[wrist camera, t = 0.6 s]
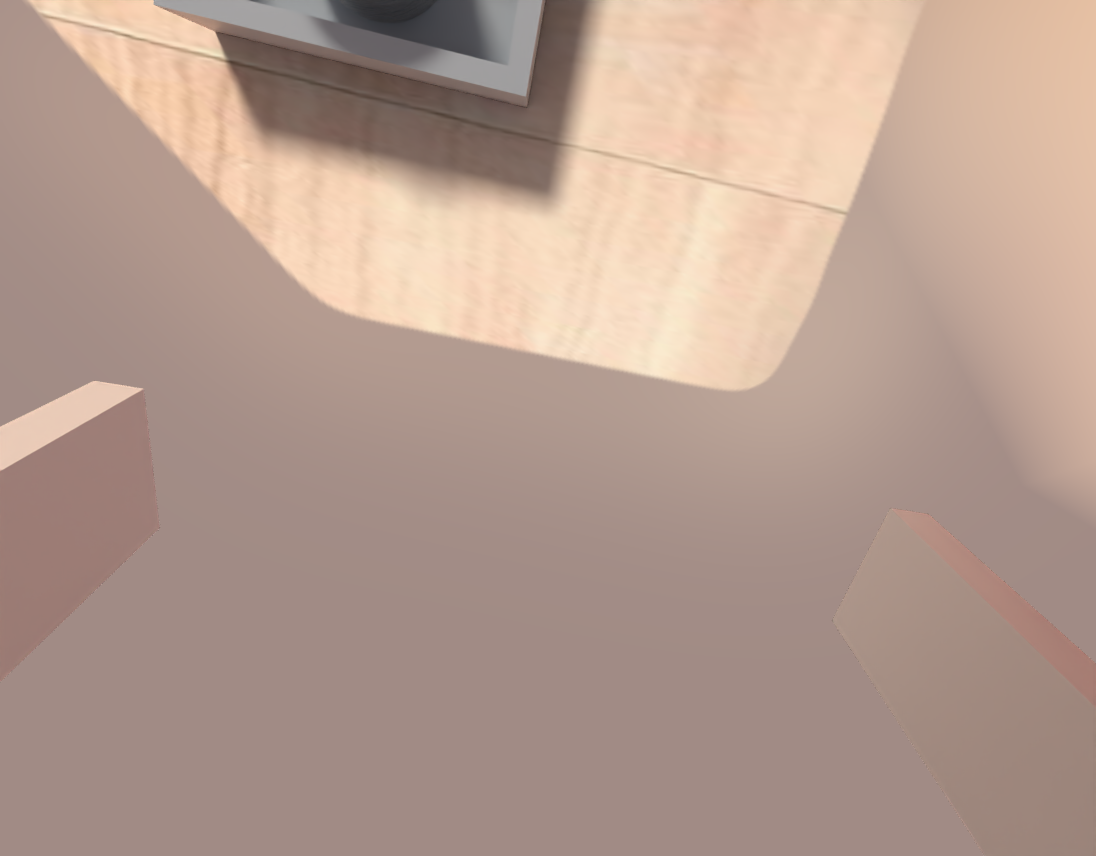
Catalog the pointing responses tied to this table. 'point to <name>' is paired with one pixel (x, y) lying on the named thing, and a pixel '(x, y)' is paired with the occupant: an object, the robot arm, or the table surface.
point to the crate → (396, 38)
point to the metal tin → (388, 9)
